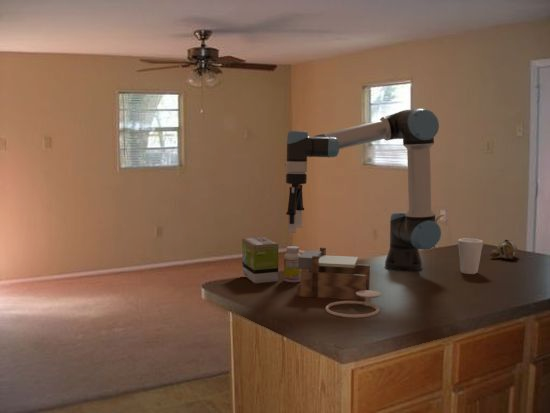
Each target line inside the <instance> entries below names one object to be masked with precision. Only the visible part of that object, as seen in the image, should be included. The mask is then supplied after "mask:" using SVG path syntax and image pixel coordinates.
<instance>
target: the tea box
mask: <svg viewBox="0 0 550 413" xmlns="http://www.w3.org/2000/svg"><path fill="white" fill-rule="evenodd" d="M241 241H242V242H241V247H242V248H241V249H242V250H241V252H242V259H241V261H242V275H243V276H245V277H246V278H247V279H248V280H250V281H251V282H253V284H261V283H274V282H279V243H278V242H276V241H273V240H271V239H270V238H267V236H264V237H263V236H262V237H250V238H248V237H247V238H242V239H241Z"/></svg>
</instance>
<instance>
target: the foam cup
mask: <svg viewBox="0 0 550 413" xmlns="http://www.w3.org/2000/svg"><path fill="white" fill-rule="evenodd" d="M457 247H458V256H459V267H460V273H462V274H467V275H475V274H476V273H477V274H478V272H479V266H480V261H481V255H482V249H483V247H484V241H483V240H482V239H478V238H458V240H457Z"/></svg>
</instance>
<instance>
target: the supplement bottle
mask: <svg viewBox="0 0 550 413" xmlns="http://www.w3.org/2000/svg"><path fill="white" fill-rule="evenodd" d="M299 251H300V246H296V245H294V246H293V245H291V246H286V252H287V253H285V254H284V255H283V279H284V281H285V282H287V283H300V277H301V271H303V269H298V257H299V256H300V255H301V254H302V253H299Z"/></svg>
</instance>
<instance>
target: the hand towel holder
mask: <svg viewBox="0 0 550 413" xmlns="http://www.w3.org/2000/svg"><path fill="white" fill-rule="evenodd" d="M356 294H357V295H358V296H360V297H364V298H366V300H365V301H363V300H340V301H334V302H330V303H328V304H327V305H326V306H325V309H324V310H325V311H326V312H327V313H328V314H330V315H333V316H337V317H343V318H352V319H354V318H356V319H357V318H358V319H361V318H369V317H373V316H376V315H378V314H379V313H380V308H379V306H377V305H375V304H374V303H372V302H371V300H372V299H375V298H378V297H381V294H382V292H380V291H377V290H372V289H371V290H370V289H366V290H362V291H358V292H356ZM346 304H347V305H348V304H351V305H362V306H365V307H370V308H373V309H375V311H372V312H369V313H362V314H361V313H360V314H359V313H358V314H355V313H354V314H351V313H350V314H349V313H340V312H336V311H332V310H331V309H329V308H331V307H332V306H333V307H334V306H338V305H346Z"/></svg>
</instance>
